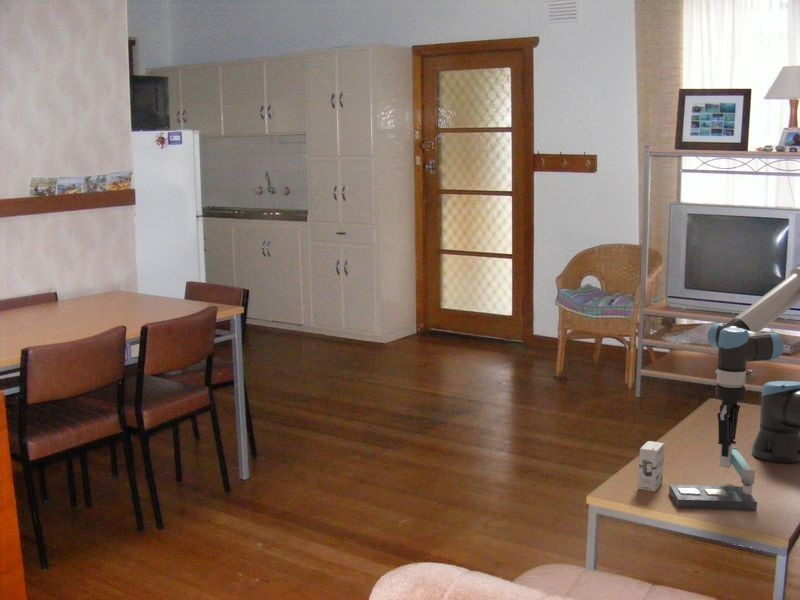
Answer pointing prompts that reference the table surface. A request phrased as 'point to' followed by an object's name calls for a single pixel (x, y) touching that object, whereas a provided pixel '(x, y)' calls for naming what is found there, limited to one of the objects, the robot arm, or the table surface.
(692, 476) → the table surface
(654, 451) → the ink box
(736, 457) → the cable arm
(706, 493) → the plate
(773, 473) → the table surface
